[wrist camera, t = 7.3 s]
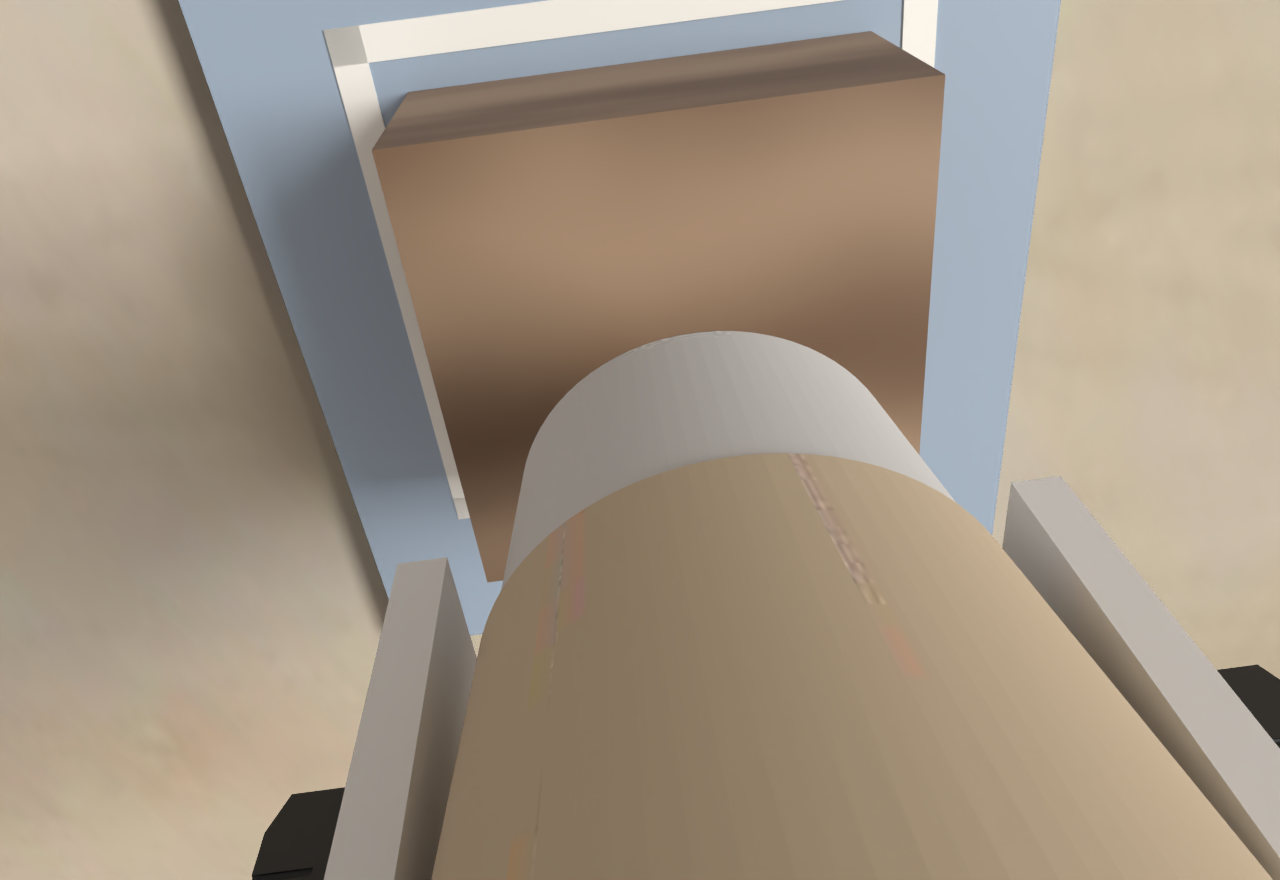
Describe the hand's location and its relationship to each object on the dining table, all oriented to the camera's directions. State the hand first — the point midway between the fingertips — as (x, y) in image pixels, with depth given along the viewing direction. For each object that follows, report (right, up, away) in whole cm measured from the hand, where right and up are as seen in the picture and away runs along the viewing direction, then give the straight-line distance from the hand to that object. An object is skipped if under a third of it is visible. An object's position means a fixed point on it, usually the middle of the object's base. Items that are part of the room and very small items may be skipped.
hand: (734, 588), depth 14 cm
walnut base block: (-1, +7, +10) cm, 12 cm away
